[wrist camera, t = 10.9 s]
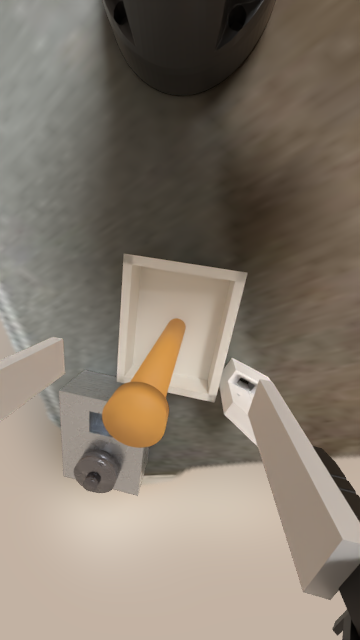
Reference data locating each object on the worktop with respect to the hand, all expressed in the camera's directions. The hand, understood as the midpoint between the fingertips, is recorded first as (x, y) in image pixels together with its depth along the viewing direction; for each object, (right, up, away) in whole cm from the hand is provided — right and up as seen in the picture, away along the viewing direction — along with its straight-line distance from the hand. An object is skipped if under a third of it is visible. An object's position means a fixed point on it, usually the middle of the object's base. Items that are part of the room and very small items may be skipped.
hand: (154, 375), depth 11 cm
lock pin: (+1, +3, +11) cm, 12 cm away
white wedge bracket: (+10, -4, +13) cm, 17 cm away
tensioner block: (-9, -13, +17) cm, 23 cm away
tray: (+1, +3, +12) cm, 12 cm away
